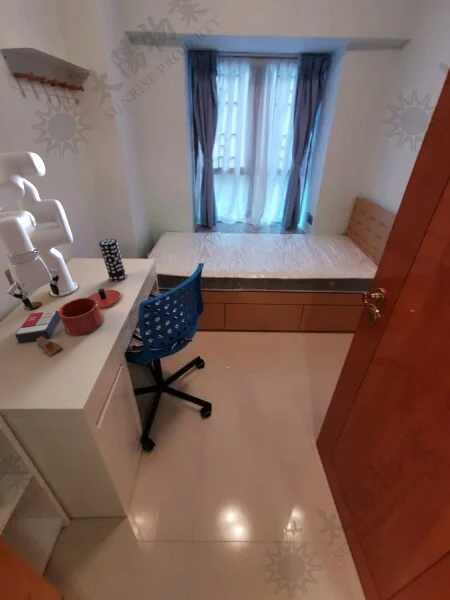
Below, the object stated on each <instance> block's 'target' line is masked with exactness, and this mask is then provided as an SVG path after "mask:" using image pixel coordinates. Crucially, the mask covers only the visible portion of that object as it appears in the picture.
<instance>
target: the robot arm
mask: <svg viewBox="0 0 450 600" xmlns="http://www.w3.org/2000/svg"><path fill="white" fill-rule="evenodd" d="M45 174H46V167H45V164H44V161H43V159H42V158H41V157H40V155H38V154H37V153H35V152H32V151H26V150H25V151H9V152H0V211H2V210H4V208H7V207H9V206H11V205H13V204H14V203H17V206H18V209H19V210H13V211H4V212H0V244H1V246H2V249H3V251H4V252H5V254H6V256H7V258H8V260H9V263H8V269H9V273H10V275H11V279H12V281H13V283H12V284H11V285H10V287H9V288H8V289H7V290H6V294H8V295H10V296H11V297H14V298H16V299H19V300H21V302H22V304H23V306H24V307H25V308H29V309H31V310H32V309H34V307H33V304H32V302H31V299H30V298H28V294H29V293H30V292H32V291H35V290H37V289H39V288H42V287H44V286H46V285H48V284H49V287H50V289H49V291H48V292H49V294H50V296H51V297H64V296H67V295H71V294H72V293H74V292H75V291H76V290H78V287H79V286H78V284H77V282H75V281H73V280H72V277H71V274H70V272H69V269H68V267H67V264H66V262H65V260H64V257H63V255H62V253H61V252H60V251H58V250H57V249H55V248H60V247H61V248H62V247H67V246H70V245H72V244H73V243H74V237H73V233H72V230H71V228H70V224H69V222H68V218H67V216H66V212H65V209H64V208H63V205H62V204H61V202H60V201H59V200H57V199H55V198H49V199H41V198H40V196H39V192H38V190H37V188H36V186H34V185H33V184H32V183H31V182H30V181H29V180H27V179H33V178H41V177H44V176H45ZM51 223H55V224H54V225H49V226H47V225H46V226H41V227H37V226H38V225H43V224H51ZM16 290H18V291H19V292H18V293H17V292H15V291H16Z"/></svg>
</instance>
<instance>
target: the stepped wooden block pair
mask: <svg viewBox="0 0 450 600" xmlns="http://www.w3.org/2000/svg"><path fill="white" fill-rule="evenodd" d="M35 341H36V342H37V344H38V345H39V346H40V347H42V348H43V349H45V350H44V351H45V352H44V353H46V354H48V355H50V356H51V357H52V356H54V355H55V354H57V353H58V352H60V351H62V348H61V347H60V346H59V345H57V344H53V343H52V341H50V340H49V339H48V338H44V337H43V336H41V337H40V338H38V339H36V340H35Z"/></svg>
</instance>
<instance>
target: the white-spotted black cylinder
mask: <svg viewBox="0 0 450 600" xmlns="http://www.w3.org/2000/svg"><path fill="white" fill-rule="evenodd" d="M98 245H99V248H100V251H101V255H102V259H103V262H104V265H105V268H106V271H107V274H108V278H109V280H110V281H111V282H121V281H123V280H125V279H126V278H127V274H126V270H125V266H124V262H123V259H122V255H121V252H120V248H119V244H118V240H117V239H116V238H105V239H103V240H101V241H99V242H98Z"/></svg>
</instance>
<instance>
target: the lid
mask: <svg viewBox="0 0 450 600" xmlns="http://www.w3.org/2000/svg"><path fill="white" fill-rule="evenodd" d="M121 297H122V295H121V292H120V291H118V290H116V289H105V288H99V289H97V292H95V293H93V294H91V295H90V296H89V297H88V298H92V299H95V300H96V301H97V304H98V306H99V309H105V308H108V307H110V306H113V305H115V304H116V303H118V302H119V301H120V300H121Z"/></svg>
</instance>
